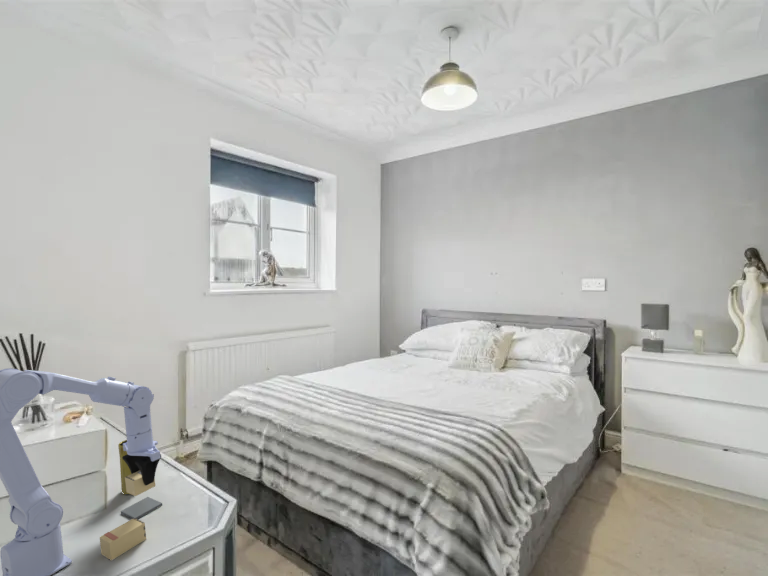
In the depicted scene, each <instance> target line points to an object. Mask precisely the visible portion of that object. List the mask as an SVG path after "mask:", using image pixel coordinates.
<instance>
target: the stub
mask: <svg viewBox="0 0 768 576" xmlns="http://www.w3.org/2000/svg"><path fill="white" fill-rule="evenodd" d="M125 483H126V492H127V493H129V495H132V496H134V497H137V496H139V495H141V494H143V493H145V492H146V491H149V490H150V489H153V488H154V487H156V477H155V478H154V482H153V483H150V484H148V485H144V482H143V479H142V475H141V472H140V470H139V471H137V472H135V473H133V474H131V475H129V476H126V477H125Z"/></svg>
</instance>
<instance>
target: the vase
mask: <svg viewBox="0 0 768 576" xmlns="http://www.w3.org/2000/svg"><path fill="white" fill-rule="evenodd" d="M126 442H127V439H125V440H122V441H121V442H119V443H118V444H117V445H118V454H119V465H120V466H119V467H120V483H121V488H120V489H121V490H122V492H123V493H124V494H129V493H127V492H126V483H125V477H126V476H129V475H131V471H130V469H129V467H128V465H127V464H126V462H125V461H124V460H123V459H122V457H123V456H125V455H127V451H123V444H124V443H126ZM124 494H123V495H124ZM129 495H130V494H129Z"/></svg>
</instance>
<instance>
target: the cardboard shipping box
mask: <svg viewBox="0 0 768 576" xmlns="http://www.w3.org/2000/svg"><path fill="white" fill-rule="evenodd" d="M146 531H147V530H146V522H144V521H142V520H140V519H136V518H133V519H130V520H128V521H126V522H125V523H123V524H121V525H119V526H117V527H115V528H113V529H112V530H109V531H107V532H105V533H103V535H101V536H99V544H100V552H101V554H100V555H102V556H103V557H105V558H107V559H108V560H109V559H110V560H109V561H111V562H112V561H113V560H115V559H116V558H118V557H120V556H121V555H123V554H125V553H127V552H128V551H130V550H131V549H133V548H134V547H136V546H138V545H139V544H141V543H142V542H144V541H146V540H147V534H146V533H147V532H146Z"/></svg>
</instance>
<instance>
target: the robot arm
mask: <svg viewBox="0 0 768 576" xmlns="http://www.w3.org/2000/svg"><path fill="white" fill-rule="evenodd" d="M116 379H117V378H116V377H112V376H107V377H101V378H99V379H97V380H95V381H91V380H86V379H82V378H78V377H74V376H69V375H65V374H60V373H56V372H51V371H43V370H34V369H33V370H32V369H30V370H29V369H24V370H19V369H18V368H13V367H12V368H11V367H10V368H9V367H8V368H2V369H0V481H1V482H2V484H3V486H4V488H5V491H6V492H7V494H8V496H9V498H8V502H9V505H10V512H9V519H10V521H11V522H12V523H13V524H14V525H17V528H16V531H15V535H14V538H13V539H12V540H10V542H8V543H6V544H4V545H2V547H0V563H1V573H2V576H51V575H53V574H55V573H56V572H58V571H60V570H61V569H64V568H66V567H67V566H69V565H71V564H72V563H73V559H71V558H70V557H69V556H67V555H65V553H64V546H63V545H64V544H63V540H62V539H63V538H62V537H63V536H62V529H61V527H62V526H61V521H62V519H63V516H64V508H63V507H62V505H61V504H60V503H57V502H55V501H54V500H52V498H51V496H50V494H49V493H48V491H46V489H45V488H44V487H43V486H42V484H41V481H40V480H39V478H38V475H37V473H36V472H35V470H34V467H33V465H32V463H31V461H30V459H29V456H28V455H27V452H26V451H25V449H24V446H23V444H22V442H21V440H20V438H19V435H18V434H17V431H16V429H15V427H14V425H13V424H12V421H13V419H14V418H15V417H16V415H17V414H18V412H19V411H20V410H22V409H23V408H24V407H25V406H26V405H27V404H28V403H30V402H31V401H33V399H35V398H36V397H37V396H38V394H39V395H47V394H48V393H50V392H53V391H61V392H67V393H74V394H81V395H88V397H89V398H90V400H91V402H93V403H100V404H105V405H111V406H117V407H123V412H124V422H125V423H124V424H125V434H126V435H125V436H126V440H127V442H126V443H124V444H123V451H127V455H125V456H123V457H122V459H123V460H124V461H125V462H126V464H127V465H128V467H129V469H130V471H131V474H133V473H135V472H137V471H139V470H140V472H141V475H142V479H143V482H144V485H148V484H150V483H153V482H154V478H155V479H156V472H157V468H158V465H159V463H160V460H161V459H162V454H161V451H160V450H159V449H158V448H157V446H156V445H159V441H157V440H154V436H153V425H152V415H151V413H152V412H151V405H152V403H153V401H154V399H155V398H154V397H155V394H154V393H152V390H151V389H150V388H149V387H147V386H144V385H138V384H135V382H133V381H128V382H124V381H120V380H116Z"/></svg>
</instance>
